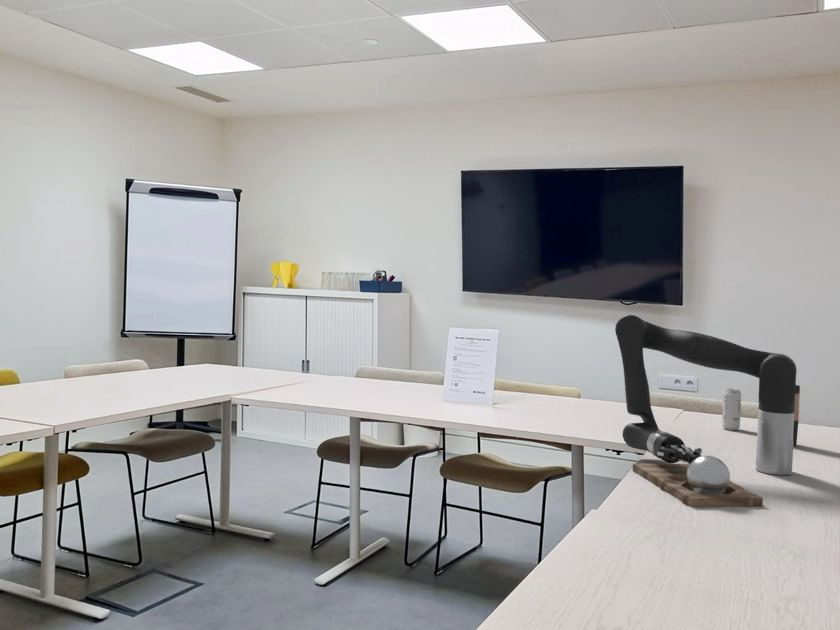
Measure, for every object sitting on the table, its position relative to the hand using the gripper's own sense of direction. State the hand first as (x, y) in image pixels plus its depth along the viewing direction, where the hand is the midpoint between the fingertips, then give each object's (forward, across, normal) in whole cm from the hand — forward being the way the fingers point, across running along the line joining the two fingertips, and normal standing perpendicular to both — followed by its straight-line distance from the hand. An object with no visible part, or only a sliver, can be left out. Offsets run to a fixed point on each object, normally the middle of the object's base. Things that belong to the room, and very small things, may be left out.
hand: (695, 460), depth 196 cm
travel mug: (-54, +59, +7) cm, 80 cm away
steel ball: (+8, 0, +2) cm, 8 cm away
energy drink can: (-79, +54, +7) cm, 96 cm away
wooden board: (-1, 0, +7) cm, 7 cm away
